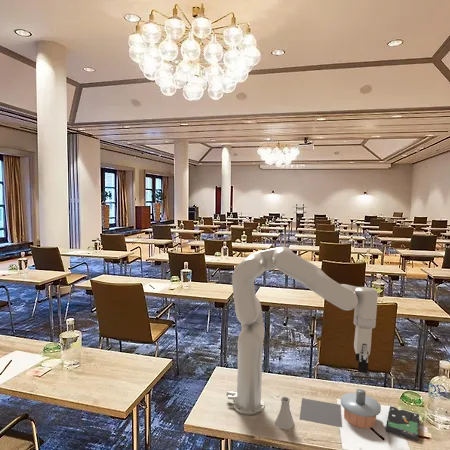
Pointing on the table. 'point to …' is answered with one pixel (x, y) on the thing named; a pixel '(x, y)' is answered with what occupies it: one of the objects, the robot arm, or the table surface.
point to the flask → (285, 415)
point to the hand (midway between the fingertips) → (361, 366)
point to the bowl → (359, 420)
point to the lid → (360, 404)
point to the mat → (321, 412)
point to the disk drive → (403, 423)
